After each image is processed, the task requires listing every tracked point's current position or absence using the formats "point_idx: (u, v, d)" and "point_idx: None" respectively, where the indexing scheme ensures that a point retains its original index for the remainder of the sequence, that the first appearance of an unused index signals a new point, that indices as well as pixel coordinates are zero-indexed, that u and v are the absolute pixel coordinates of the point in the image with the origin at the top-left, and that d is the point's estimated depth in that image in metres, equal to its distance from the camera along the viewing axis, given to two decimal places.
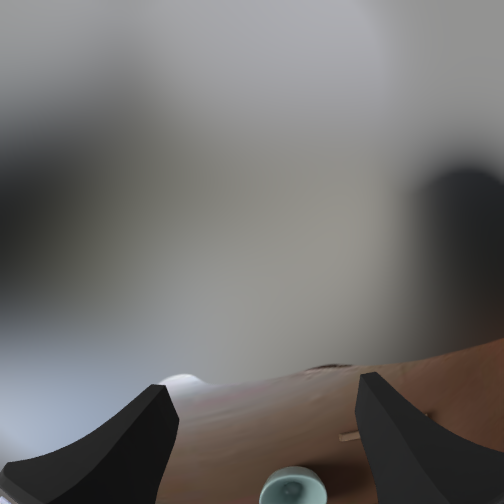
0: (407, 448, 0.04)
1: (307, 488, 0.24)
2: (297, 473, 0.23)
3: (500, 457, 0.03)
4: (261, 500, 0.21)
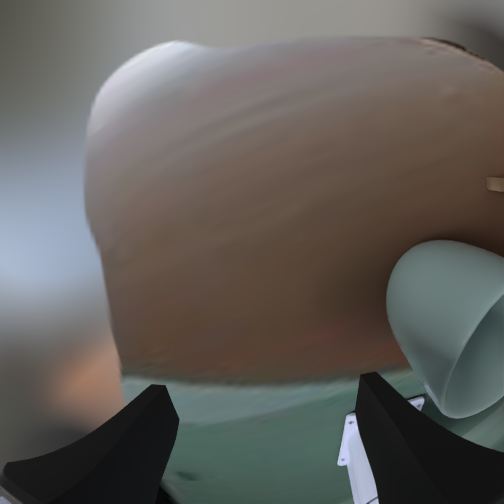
0: (407, 448, 0.04)
1: None
2: None
3: (500, 457, 0.03)
4: (452, 369, 0.08)
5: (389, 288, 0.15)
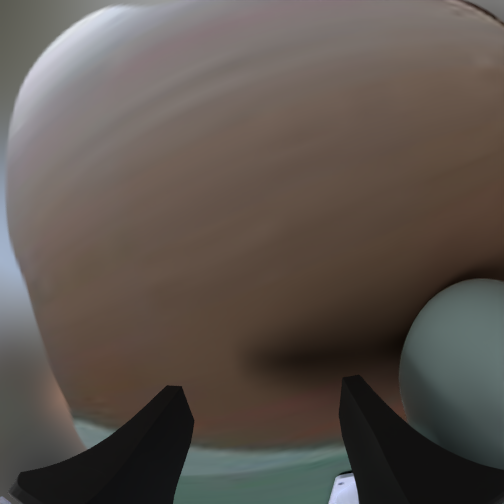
0: (382, 455, 0.04)
1: None
2: None
3: (481, 469, 0.03)
4: None
5: (407, 355, 0.09)
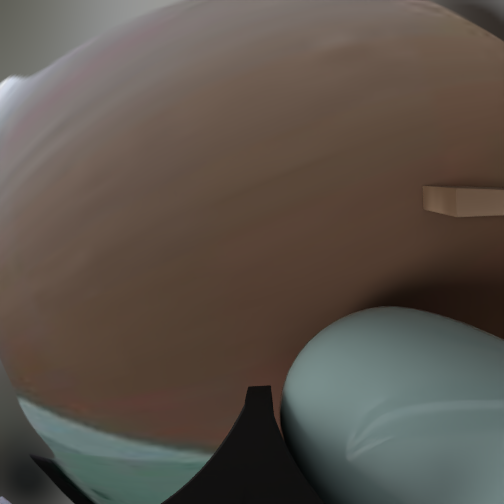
0: (240, 472, 0.05)
1: None
2: None
3: None
4: None
5: (284, 414, 0.07)
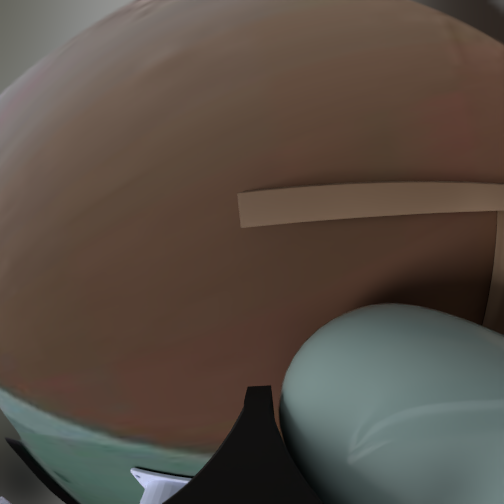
0: (239, 472, 0.05)
1: None
2: None
3: None
4: None
5: (283, 415, 0.07)
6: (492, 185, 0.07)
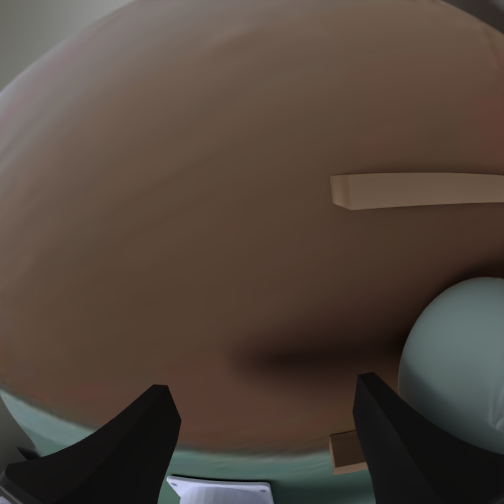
0: (404, 449, 0.04)
1: None
2: None
3: (498, 458, 0.03)
4: None
5: (410, 372, 0.08)
6: None
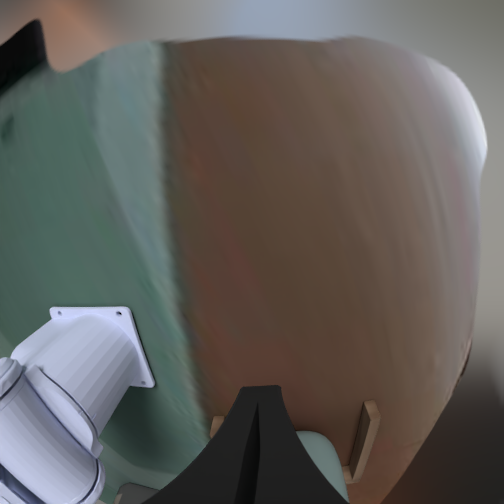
0: (258, 472, 0.05)
1: None
2: None
3: None
4: None
5: (307, 438, 0.20)
6: (364, 467, 0.21)
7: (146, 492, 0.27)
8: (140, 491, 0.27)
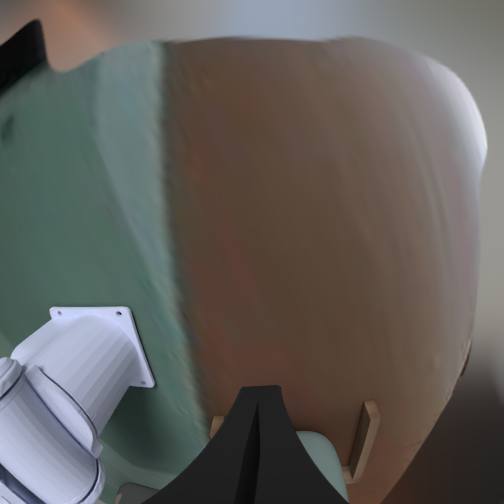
0: (258, 472, 0.05)
1: None
2: None
3: None
4: None
5: (307, 438, 0.20)
6: (364, 467, 0.21)
7: (146, 492, 0.27)
8: (140, 491, 0.27)
